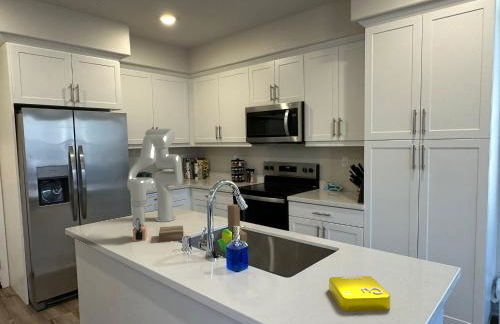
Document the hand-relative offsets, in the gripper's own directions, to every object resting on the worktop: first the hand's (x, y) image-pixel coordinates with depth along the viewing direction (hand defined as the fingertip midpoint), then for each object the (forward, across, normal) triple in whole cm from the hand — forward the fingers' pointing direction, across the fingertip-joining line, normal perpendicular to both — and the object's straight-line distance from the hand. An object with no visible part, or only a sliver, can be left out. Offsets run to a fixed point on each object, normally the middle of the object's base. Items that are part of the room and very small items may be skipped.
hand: (140, 237), depth 166 cm
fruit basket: (+1, +30, +44) cm, 53 cm away
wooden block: (+1, +15, +49) cm, 51 cm away
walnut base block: (+1, +2, +16) cm, 16 cm away
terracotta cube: (+1, 0, 0) cm, 1 cm away
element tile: (+2, +80, +79) cm, 112 cm away
